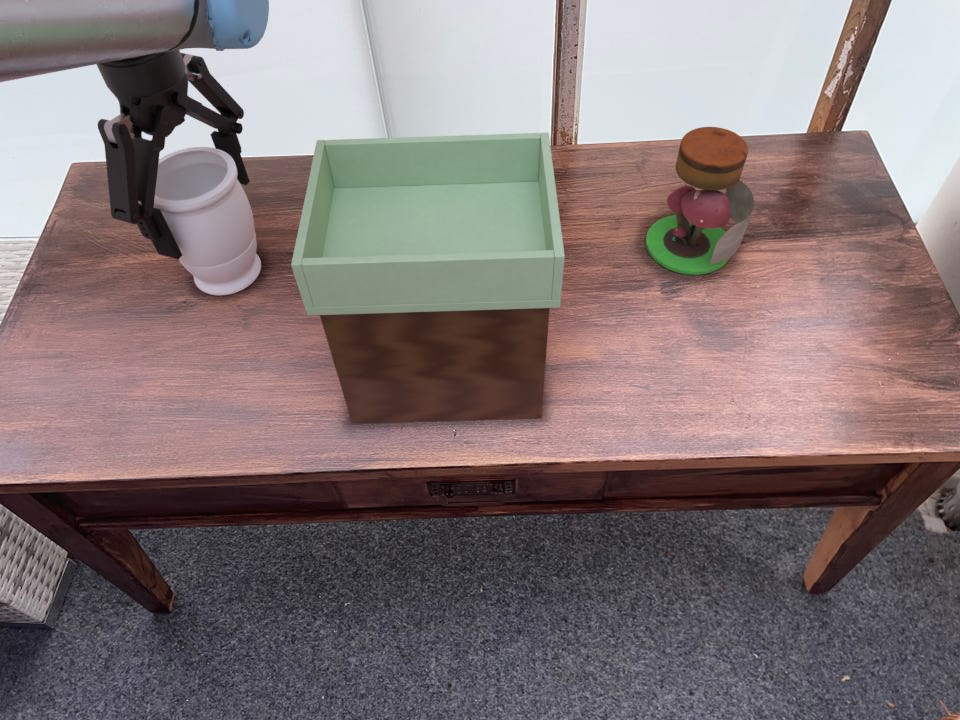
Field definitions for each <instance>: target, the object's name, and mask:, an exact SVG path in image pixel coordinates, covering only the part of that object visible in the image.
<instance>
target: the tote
mask: <svg viewBox="0 0 960 720" xmlns="http://www.w3.org/2000/svg"><path fill="white" fill-rule="evenodd" d="M550 139H551V138H550V133H549V132H527V133H525V132H524V133H498V134H496V133H495V134H493V133H492V134H467V135H438V136H437V135H436V136H409V137H408V136H407V137H378V138H377V137H376V138H347V139H344V138H343V139H317V140H316V142H315V147H314V152H313V157H312V162H311V168H310V170H309V177H308V180H307V186H306V191H305V196H304V201H303V205H302V211H301V215H300V220H299V225H298V230H297V235H296V239H295V244H294V249H293V253H292V258H291V263H290V266H291V270H292V272H293V275H294V276H293V277H294V279H295V282H296V285H297V289H298V292H299V294H300V298H301V301H302V304H303V307H304V309H305V314H306V316H320V315H340V314H373V313H405V312H437V311H469V310H502V309H534V308H550V309H557V308H558V309H560V308H561V302H562V292H563V282H564V269H565V268H564V267H565V258H566V254H565V247H564V241H563V231H562V224H561V218H560V217H561V216H560V209H559V201H558V194H557V193H558V192H557V186H556V178H555V171H554V163H553V155H552V148H551V147H552V146H551V140H550Z"/></svg>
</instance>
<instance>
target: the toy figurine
mask: <svg viewBox="0 0 960 720" xmlns="http://www.w3.org/2000/svg"><path fill="white" fill-rule="evenodd" d="M748 154H749V146H748V144H747V142H746V141H745V139H744V138H743V137H742V136H740V135H739V134H737V133H736V132H735V131H732V130H729V129H727V128H723V127H718V126H701V127H697V128H694V129H692V130H689V131H688V132H687V133H685V134H684V135H683V137H682V138H681V141H680V144H679V148H678V153H677V157H676V162H675V173H676V174H677V176H678V178H679V179H681V180H682V182H684V183H686V184H687V185H683V186H681V187H678V188H676V189H675V190H674V191H672V192H671V193H670V194H669V195H668V196H667V198H666V204H667V207H668V209H670V211H672V212H673V213H675V214H673V215H668V216H665V217H662V218H660V219H658V220H657V221H655V222H654V223H653V224H652V225H651V226H650V227H649V228H648V231H647V233H646V235H645V247H646V250H647V253H648V254H649V256H650V257H651V258H652V259H653V260H654V261H655V262H656V263H657V264H659V265H660V266H662V267H663V268H665V269H667V270H670V271H672V272H674V273H678V274H683V275H690V276H691V275H692V276H695V275H696V276H697V275H699V276H701V275H706V274H710V273H713V272H715V271H717V270H719V269H721V268H723V267H724V266H725V265H726V264H727V263H728V261H729V260H730V258H731V257H733V256H734V254H735V253H736V252H737V251H738V250H739V248H740V246H741V244H742V241H743V239H744V236H745V233H746V230H747V228H748V226H749V224H750V221H751V218H752V217H751V216H752V213H753V210H754V206H755V199H754V195H753V192H752V190H751V189H750V187H749V186H748V185H747V184H746V183H745V182H743V181H742V180H740V179H741V177H742V173H743V171H744V167H745V164H746V162H747V157H748ZM697 189H698V190H697ZM721 190H725V192H723V191H721ZM730 218H731V219H732V220H733V221H734V222H735V224H734V225H731V226H730V227H729V228H728V229H727V230H725V229H724V228H722V227H723V226H725V225H726V224H728V223H729V221H730Z"/></svg>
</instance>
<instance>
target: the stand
mask: <svg viewBox="0 0 960 720" xmlns="http://www.w3.org/2000/svg"><path fill="white" fill-rule="evenodd" d="M550 310H551V308H534V309H502V310H469V311H437V312H405V313H373V314H340V315H319V317H320V321H321V325H322V328H323V331H324V334H325V335H324V336H325V337H326V342H327V344H328V348H329V352H330V354H331V358H332V361H333V364H334V368H335V371H336V375H337V379H338V381H339V384H340V388H341V391H342V394H343V397H344V401H345V405H346V407H347V408H346V409H347V411H348V414H349V419H350V421H351V424H352V425H361V424H392V423H393V424H395V423H396V424H397V423H426V422H427V423H429V422H460V421H461V422H462V421H490V420H491V421H494V420H496V421H497V420H498V421H499V420H528V419H530V420H531V419H542V418H543V404H544V390H545V379H546V377H545V376H546V364H547V363H546V362H547V350H548V338H549V337H548V336H549V321H550Z"/></svg>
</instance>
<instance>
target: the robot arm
mask: <svg viewBox="0 0 960 720" xmlns="http://www.w3.org/2000/svg"><path fill="white" fill-rule="evenodd" d="M269 14H270V0H0V83H4V82H10V81H15V80H19V79H26V78H30V77H31V78H32V77H35V76H42V75H46V74H52V73H57V72H63V71H68V70H73V69H78V68H83V67H88V66H89V67H90V66H95V65H96V66H97V67H96V68H97V69H98V71H99V73H100V75H101V77H102V79H103V81H104V84H105V86H106V87H107V89H109V91H110V92H111V93H112V94H113V95H114V98H116V99H117V101H118V105H119V114H118V115H117V116H115V117H114V118H112V119H110V120H109V119H105V118H101V119H99V120H98V122H97V129H98V133H99V134H100V137H101V139H102V141H103V145H104V153H105V164H106V165H105V166H106V175H107V185H108V197H109V205H110V215H111V217H112V219H114V220H118V221H121V222H124V223H129V224H132V225H136V226H137V228H138V229H139V231H140V233H141V235H142V237H143V238H145V239H148V240H151V243H152V244H153V246H154V248H155V250H156V252H157V254H158V255H160V256H165V257H168V258H171V259H174V260H178V261H179V258H180V257H181V256H182V253H181V251H180V249H179V247H178V245H177V243H176V241H175V239H174V237H173V235H172V233H171V231H170V228H169V226H168V224H167V222H166V220H165V218H164V216H163V214H162V212H161V210H160V209H157V208H154V199H155V190H156V181H157V171H158V162H159V159H160V153H161V152H162V151H163V150H164V149H165V146H166V145H165V144H166V138H168V137H169V136H170V135H171V134H173V132H174V130H175V128H177V127H178V126H181V125H182V124H183V123H184V122H185V121H186V115H187V116H188V117H190V118H193V119H195V120H197V121H199V122H201V123H203V124H205V125H207V126H209V127H211V128H213V129H215V130H213V131H212V132H211V133H210V137H211V140H212V143H213V145H214V148H216V149H219V150H222V151H224V152H226V153H228V154H229V155H230V156H231V157H232V158H233V160H234V161H235V164H236V167H237V173H238V174H237V179H238V181H239V182H240V184H241V185H244V186H247V185H248V184H249V183H250V182H251V180H250V177H249V175H248V172H247V170H246V166H245V164H244V161H243V157H242V146H241V144H240V141H239V137H238V135H240V134H242V133H243V125H242V123H240V122H237V121H239V120H242V119H243V118H244V116H245V110H244V109H243V107H242V106H240V104H239V103H238V102H237V101H236V100H235V99H234V98H233V97H232V96H231V95H230V93H229V92H228V91H227V90H226V89H225V88H224V87H223V86H222V85H221V83H220V82H219V81H217V79H216V78H215V77H214V76H213V75H212V73H211V72H210V69H209V68H208V66H207V63H206V61H205V59H204V57H203V56H199V55H194V54H190V53H184V52H181V50H185V49H186V50H187V49H212V50H215V51H216V52H223V51H225V50H248V49H251V48H254V47H256V46H257V45H258V44H259V43H260V41H261V40H262V39H263V37H264V35H265V34H266V33H265V32H266V30H267V26H268V22H269ZM189 83H190V85H192V86H193V87H194V88H195V89H196V90H197V92H199V93H200V94H201V96H203V98H205V99H206V100H207V101H208V103H209V104H211V106H212V107H213V108H215V110H216V111H217V112H216V111H215V110H213V109H211V108H209V107H207V106H205V105H203V103H202V102H200V101H198V100H196V99H194V98H193V97H191V96H189V95H188V91H189ZM143 133H144V134H146V135H148V136H152V138H151V139H147V138H144V137H143V136H142V135H143Z"/></svg>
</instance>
